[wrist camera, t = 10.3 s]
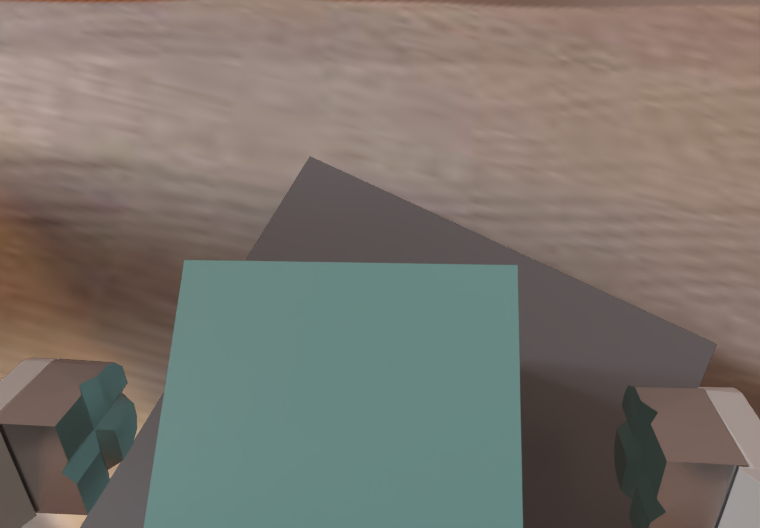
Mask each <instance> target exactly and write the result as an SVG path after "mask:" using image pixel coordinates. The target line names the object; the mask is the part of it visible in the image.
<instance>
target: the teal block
mask: <svg viewBox="0 0 760 528" xmlns="http://www.w3.org/2000/svg"><path fill="white" fill-rule="evenodd" d="M144 528H523V502H522V454H521V407H520V359H519V311H518V265H475V264H412V263H350V262H287V261H225V260H184V265H183V271H182V278H181V285H180V291H179V298H178V304H177V311H176V317H175V324H174V331H173V337H172V344H171V350H170V357H169V364H168V370H167V377H166V383H165V390H164V396H163V403H162V410H161V416H160V423H159V429H158V436H157V443H156V449H155V456H154V462H153V469H152V475H151V482H150V489H149V495H148V502H147V508H146V515H145V522H144Z"/></svg>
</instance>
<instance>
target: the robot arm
mask: <svg viewBox="0 0 760 528" xmlns="http://www.w3.org/2000/svg"><path fill="white" fill-rule="evenodd" d="M126 384H127V380H126V377H125V374H124V371H123V368H122V366H120V365H118V364H116V363H114V362H101V361H86V360H71V359H50V358H30V359H26V360H23V361H21V362H20V363H19V364H18V365H17V366H16V367H15V368H14V369H13V370H12V371H11V372H10V373H9V374H8V375H7V376H5V377H4V378H3V379H2V380H1V381H0V528H21V527H22V526H23V525H25V524H26V523H27V522H29V521H30V520H31V519H33V518H34V517H35V516H36V513H54V514H77V515H88V514H89V512H90V511H91V509H92V508H93V506H94V505H95V503H96V502H97V500H98V499H99V497H100V496H101V494H102V492H103V491H104V489H105V488H106V486H107V485H108V483H109V482H110V479H109V473H108V469H110V468H112V467H113V466H115V465H116V464H118V463H119V462H121V461H123V460H124V458H125V457H126V455H127V454H128V452H129V450H130V449H131V447H132V445H133V441H134V437H135V434H136V430H137V415H136V411H135V407H134V403H132V402H131V401H130V400H129V399H128V398H127V397H126V396H125V395H124V394H123V393H122V391H123V389H124V388H125V386H126ZM622 408H623V411H624V414H625V416H626V419H627V420H626V421H625V422H624V423H623V424H621V425H620V426H619V427H618V428H617V431H616V437H615V443H614V464H615V470H616V476H617V479H618V483H619V486H620V489H621V491H622V492H623V493H624V494H625V495H626V496H628V497H629V498H630V499H631V500H632V504H631V508H630V512H629V518H630V521H631V524H632V527H633V528H760V419H759V418H758V416H757V415H756V413H755V412H754V410H753V409H752V407H751V406H750V404H749V403H748V401H747V400H746V398H745V397H744V395H743V394H742V393H741V392H740V391H739V390H737V389H736V388H733V387H698V388H690V387H664V386H638V385H628V387H627V389H626V391H625V393H624V397H623V402H622Z"/></svg>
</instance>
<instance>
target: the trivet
mask: <svg viewBox="0 0 760 528" xmlns="http://www.w3.org/2000/svg"><path fill="white" fill-rule="evenodd" d="M245 261H287V262H350V263H412V264H475V265H518V311H519V359H520V407H521V454H522V502H523V528H633V527H632V524H631V521H630V518H629V512H630V508H631V504H632V500H631V499H630V498H629V497H628V496H626V495H625V494H624V493H623V492H622V491H621V489H620V486H619V483H618V479H617V476H616V470H615V464H614V443H615V437H616V431H617V428H618V427H619V426H620V425H621V424H623V423H624V422H625V421H626V420H627V419H626V416H625V414H624V411H623V408H622V402H623V397H624V393H625V391H626V389H627V387H628V385H638V386H664V387H690V388H698V387H700V384H701V382H702V379H703V377H704V374H705V372H706V369H707V367H708V364H709V362H710V359H711V357H712V354H713V352H714V349H715V347H716V344H715V343H713V342H711V341H709V340H707V339H705V338H702V337H700V336H698V335H696V334H694V333H692V332H689V331H687V330H685V329H683V328H681V327H679V326H676V325H674V324H672V323H670V322H668V321H666V320H663V319H661V318H659V317H657V316H655V315H653V314H650V313H648V312H646V311H644V310H642V309H640V308H637V307H635V306H633V305H631V304H629V303H627V302H624V301H622V300H620V299H618V298H616V297H614V296H611V295H609V294H607V293H605V292H603V291H601V290H598V289H596V288H594V287H592V286H590V285H588V284H585V283H583V282H581V281H579V280H577V279H575V278H572V277H570V276H568V275H566V274H564V273H562V272H559V271H557V270H555V269H553V268H551V267H549V266H546V265H544V264H542V263H540V262H538V261H536V260H533V259H531V258H529V257H527V256H525V255H523V254H520V253H518V252H516V251H514V250H512V249H510V248H508V247H505V246H503V245H501V244H499V243H497V242H495V241H492V240H490V239H488V238H486V237H484V236H482V235H479V234H477V233H475V232H473V231H471V230H469V229H466V228H464V227H462V226H460V225H458V224H456V223H453V222H451V221H449V220H447V219H445V218H443V217H440V216H438V215H436V214H434V213H432V212H430V211H427V210H425V209H423V208H421V207H419V206H417V205H414V204H412V203H410V202H408V201H406V200H404V199H401V198H399V197H397V196H395V195H393V194H391V193H388V192H386V191H384V190H382V189H380V188H378V187H375V186H373V185H371V184H369V183H367V182H365V181H362V180H360V179H358V178H356V177H354V176H352V175H349V174H347V173H345V172H343V171H341V170H339V169H336V168H334V167H332V166H330V165H328V164H326V163H323V162H321V161H319V160H317V159H315V158H313V157H309V159H308V160H307V162H306V163H305V165H304V167H303V168H302V170H301V171H300V173H299V175H298V176H297V178H296V180H295V181H294V183H293V184H292V186H291V188H290V189H289V191H288V193H287V194H286V196H285V197H284V199H283V201H282V202H281V204H280V205H279V207H278V209H277V210H276V212H275V214H274V215H273V217H272V218H271V220H270V222H269V223H268V225H267V226H266V228H265V230H264V231H263V233H262V235H261V236H260V238H259V239H258V241H257V243H256V244H255V246H254V247H253V249H252V251H251V252H250V254H249V256H248V257H247V259H246V260H245ZM163 396H164V393H163V395H162V396H161V398H160V399H159V401H158V403H157V404H156V406H155V408H154V409H153V411H152V412H151V414H150V416H149V417H148V419H147V421H146V422H145V424H144V425H143V427H142V429H141V430H140V432H139V433H138V435H137V437H136V438H135V440H134V442H133V445H132V447H131V449H130V450H129V452H128V454H127V455H126V457H125V458H124V460H123V461H121V463H120V464H119V466H118V467H117V469H116V471H115V472H114V474H113V476H112V477H111V479H110V482H109V483H108V485H107V486H106V488H105V489H104V491H103V492H102V494H101V496H100V497H99V499H98V500H97V502H96V503H95V505H94V506H93V508H92V509H91V511H90V513H89V514H88V516H87V518H86V519H85V521H84V522H83V524H82V526H81V527H80V528H144V522H145V515H146V508H147V502H148V495H149V489H150V482H151V475H152V469H153V462H154V456H155V449H156V443H157V436H158V429H159V423H160V416H161V410H162V403H163Z"/></svg>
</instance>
